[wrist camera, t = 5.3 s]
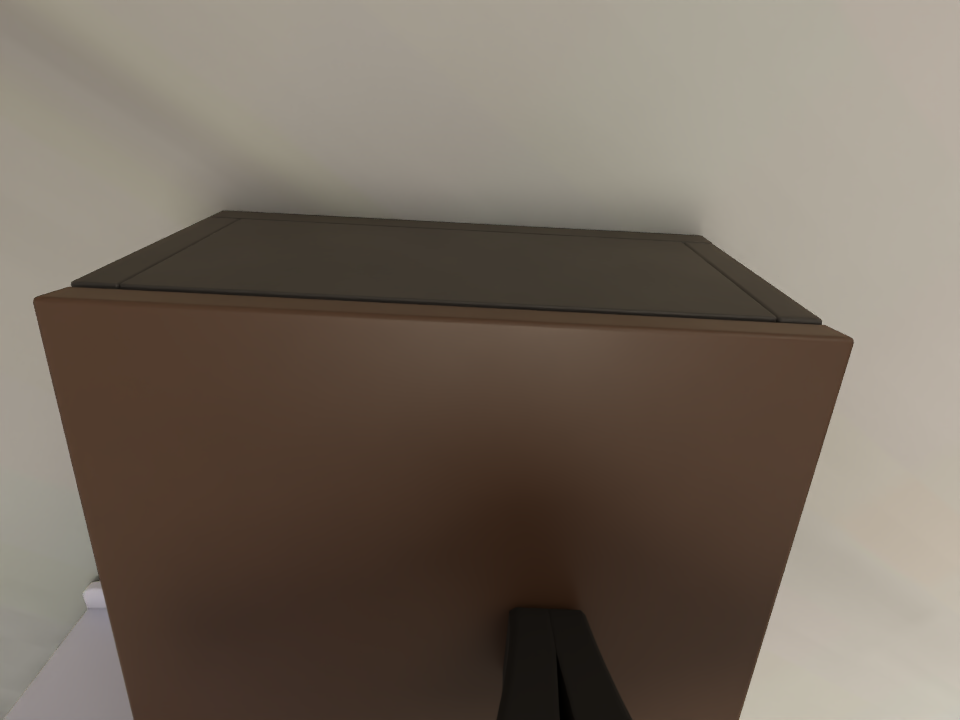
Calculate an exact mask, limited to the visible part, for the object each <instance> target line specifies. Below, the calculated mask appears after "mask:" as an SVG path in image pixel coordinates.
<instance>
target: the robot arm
mask: <svg viewBox="0 0 960 720" xmlns="http://www.w3.org/2000/svg"><path fill="white" fill-rule="evenodd" d="M83 598H84V601H85V603H86V606H87V608H88V609H87V610H86V611H85V613H84V614H83V615H82V617H81V618H80V619H79V621H78V622H77V623H76V624H75V626H74V627H73V628H72V630H71V631H70V632H69V634H68V635H67V636H66V638H65V639H64V640H63V641H62V643H61V644H60V645H59V647H58V648H57V649H56V651H55V652H54V653H53V655H52V656H51V657H50V659H49V660H48V661H47V662H46V664H45V665H44V666H43V668H42V669H41V670H40V672H39V673H38V674H37V676H36V677H35V678H34V680H33V681H32V682H31V683H30V685H29V686H28V687H27V689H26V690H25V691H24V693H23V694H22V695H21V697H20V698H19V699H18V700H17V702H16V703H15V704H14V706H13V707H12V708H11V710H10V711H9V712H8V714H7V715H6V716H5V718H4V719H3V720H133V716H132V711H131V707H130V703H129V699H128V695H127V691H126V686H125V682H124V678H123V674H122V670H121V666H120V662H119V657H118V653H117V649H116V645H115V641H114V637H113V632H112V628H111V624H110V620H109V616H108V612H107V607H106V603H105V599H104V595H103V591H102V587H101V582H100V581H96V582H92V583H90V584H89V585H88V586H87V588H86V589H85V590H84V592H83ZM496 720H632V718H631V716H630V714H629V712H628V710H627V708H626V706H625V704H624V702H623V700H622V698H621V696H620V694H619V692H618V690H617V688H616V685H615V683H614V681H613V679H612V677H611V675H610V673H609V670H608V668H607V666H606V664H605V662H604V659H603V657H602V655H601V653H600V650H599V648H598V645H597V643H596V641H595V638H594V636H593V633H592V631H591V628H590V626H589V623H588V620H587V618H586V615H585V614H584V613H583V612H582V611H581V610H567V609H544V608H521V607H515V608H514V609H512V610H510V611H509V618H508V627H507V636H506V646H505V655H504V664H503V683H502V695H501V700H500V705H499V710H498V715H497V719H496Z"/></svg>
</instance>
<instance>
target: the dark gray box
mask: <svg viewBox="0 0 960 720" xmlns="http://www.w3.org/2000/svg"><path fill="white" fill-rule="evenodd" d="M71 286H72V287H81V288H101V289H121V290H140V291H160V292H180V293H200V294H220V295H239V296H259V297H279V298H299V299H319V300H338V301H358V302H378V303H398V304H418V305H437V306H457V307H477V308H497V309H517V310H536V311H556V312H576V313H596V314H616V315H635V316H655V317H675V318H695V319H715V320H735V321H754V322H774V323H794V324H814V325H822V320H821V319H820V318H818V317H817V316H815V315H814V314H813V313H811V312H810V311H808V310H807V309H805V308H804V307H803V306H801V305H800V304H798V303H797V302H795V301H794V300H792V299H791V298H790V297H788V296H787V295H785V294H784V293H782V292H781V291H780V290H778V289H777V288H775V287H774V286H772V285H771V284H769V283H768V282H767V281H765V280H764V279H762V278H761V277H759V276H758V275H756V274H755V273H754V272H752V271H751V270H749V269H748V268H746V267H745V266H744V265H742V264H741V263H739V262H738V261H736V260H735V259H733V258H732V257H731V256H729V255H728V254H726V253H725V252H723V251H722V250H720V249H719V248H718V247H716V246H715V245H713V244H712V243H711V242H710V241H708V240H707V239H706V238H704V237H703V236H697V235H678V234H659V233H640V232H621V231H602V230H583V229H564V228H545V227H526V226H507V225H488V224H469V223H450V222H431V221H412V220H393V219H374V218H355V217H336V216H317V215H298V214H279V213H260V212H241V211H221V212H219V213H217V214H215V215H212V216H210V217H208V218H206V219H204V220H202V221H200V222H197V223H195V224H193V225H191V226H189V227H187V228H185V229H183V230H180V231H178V232H176V233H174V234H172V235H170V236H168V237H166V238H163V239H161V240H159V241H157V242H155V243H153V244H151V245H149V246H146V247H144V248H142V249H140V250H138V251H136V252H134V253H132V254H130V255H127V256H125V257H123V258H121V259H119V260H117V261H115V262H113V263H110V264H108V265H106V266H104V267H102V268H100V269H98V270H96V271H93V272H91V273H89V274H87V275H85V276H83V277H81V278H79V279H76V280H74V281H72V282H71Z"/></svg>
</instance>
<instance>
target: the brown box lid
mask: <svg viewBox="0 0 960 720" xmlns="http://www.w3.org/2000/svg"><path fill="white" fill-rule="evenodd" d="M33 304H34V308H35V312H36V316H37V320H38V325H39V329H40V333H41V337H42V341H43V345H44V349H45V354H46V358H47V362H48V366H49V370H50V374H51V379H52V383H53V387H54V391H55V395H56V399H57V404H58V408H59V412H60V416H61V420H62V424H63V429H64V433H65V437H66V441H67V445H68V449H69V453H70V458H71V462H72V466H73V470H74V474H75V478H76V483H77V487H78V491H79V495H80V499H81V503H82V508H83V512H84V516H85V520H86V524H87V528H88V533H89V537H90V541H91V545H92V549H93V553H94V557H95V562H96V566H97V570H98V574H99V578H100V582H101V587H102V591H103V595H104V599H105V603H106V607H107V612H108V616H109V620H110V624H111V628H112V632H113V637H114V641H115V645H116V649H117V653H118V657H119V662H120V666H121V670H122V674H123V678H124V682H125V686H126V691H127V695H128V699H129V703H130V707H131V711H132V716H133V720H496V719H497V715H498V710H499V705H500V700H501V695H502V683H503V664H504V655H505V646H506V636H507V627H508V618H509V611H510V610H512V609H514V608H515V607H521V608H544V609H567V610H581V611H582V612H583V613H584V614H585V615H586V618H587V620H588V623H589V626H590V628H591V631H592V633H593V636H594V638H595V641H596V643H597V645H598V648H599V650H600V653H601V655H602V657H603V659H604V662H605V664H606V666H607V668H608V670H609V673H610V675H611V677H612V679H613V681H614V683H615V685H616V688H617V690H618V692H619V694H620V696H621V698H622V700H623V702H624V704H625V706H626V708H627V710H628V712H629V714H630V716H631V718H632V720H739V717H740V714H741V711H742V708H743V704H744V701H745V698H746V695H747V691H748V688H749V685H750V681H751V678H752V675H753V672H754V668H755V665H756V662H757V658H758V655H759V652H760V649H761V645H762V642H763V639H764V635H765V632H766V629H767V626H768V622H769V619H770V616H771V613H772V609H773V606H774V603H775V599H776V596H777V593H778V590H779V586H780V583H781V580H782V576H783V573H784V570H785V567H786V563H787V560H788V557H789V554H790V550H791V547H792V544H793V540H794V537H795V534H796V531H797V527H798V524H799V521H800V517H801V514H802V511H803V508H804V504H805V501H806V498H807V495H808V491H809V488H810V485H811V481H812V478H813V475H814V472H815V468H816V465H817V462H818V458H819V455H820V452H821V449H822V445H823V442H824V439H825V436H826V432H827V429H828V426H829V422H830V419H831V416H832V413H833V409H834V406H835V403H836V399H837V396H838V393H839V390H840V386H841V383H842V380H843V377H844V373H845V370H846V367H847V363H848V360H849V357H850V354H851V350H852V347H853V344H854V342H853V339H852V338H851V337H849V336H847V335H844V334H842V333H840V332H838V331H836V330H834V329H832V328H830V327H828V326H826V325H814V324H794V323H774V322H754V321H735V320H715V319H695V318H675V317H655V316H635V315H616V314H596V313H576V312H556V311H536V310H517V309H497V308H477V307H457V306H437V305H418V304H398V303H378V302H358V301H338V300H319V299H299V298H279V297H259V296H239V295H220V294H200V293H180V292H160V291H140V290H121V289H101V288H81V287H67V288H63V289H60V290H57V291H53V292H50V293H47V294H44V295H40V296H37V297H35V298H34V300H33Z"/></svg>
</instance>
